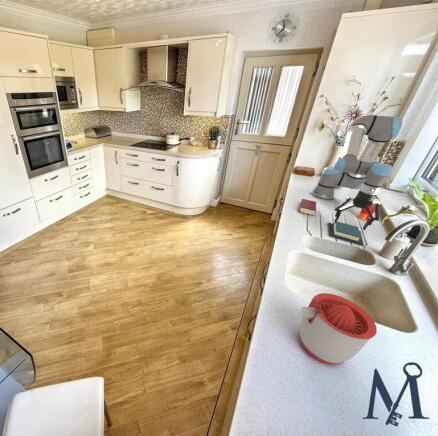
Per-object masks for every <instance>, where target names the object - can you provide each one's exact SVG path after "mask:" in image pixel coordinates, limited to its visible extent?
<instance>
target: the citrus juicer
mask: <svg viewBox="0 0 438 436" xmlns="http://www.w3.org/2000/svg"><path fill="white" fill-rule="evenodd" d="M299 316H300V318H302V319H301V322H300V325H299V332H298V333H299V334H298V335H299V341H300V344H301V346H302V347H303V349H304V350H305V351H306V352H307V354H309V356H311V357H312V358H313V359H315V360H316V361H318V362H320V363H323V364H326V365H339V364H342V363H344V362H347V361H349V360H351V359H352V358H354V357H355V356H356V355H357V354H358V353H359V352H360V351H361V350H362V349H363V348H364V346H365V345H366V344H367V343H368V342H369V341H370V340H371V339H372V338H374V337H376V335H377V330H378V329H377V325H376V323H375V321H374V319H373V317H371V315H369V313H367V312H366V310H364V309H363V308H362V307H361V306H359V305H358V304H356V303H355V302H353V301H351V300H349V299H348V298H345V297H343V296H341V295H337V294H334V293H328V292H322V293H321V292H320V293H317V294H316V295H314V296H313V297H312V298H311V301H310V302H309V304H308V306H302V307H301V308H300V310H299Z"/></svg>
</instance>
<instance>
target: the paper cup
mask: <svg viewBox="0 0 438 436" xmlns="http://www.w3.org/2000/svg"><path fill="white" fill-rule="evenodd" d="M373 203H379V206H380V205H381V204H382V201H381V200H380V199H378V198H375V199H374V200H373ZM369 209H370V212H371V214H372V215H374V214H375V210H374V207H373V205H371V206H369ZM357 218H358V219H359V220H362V221H366V222H367V220H368V218H370V216H369V214H368V212H367V210H366V208H364V209H360V212H359V213H358V216H357ZM370 219H371V218H370Z"/></svg>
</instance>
